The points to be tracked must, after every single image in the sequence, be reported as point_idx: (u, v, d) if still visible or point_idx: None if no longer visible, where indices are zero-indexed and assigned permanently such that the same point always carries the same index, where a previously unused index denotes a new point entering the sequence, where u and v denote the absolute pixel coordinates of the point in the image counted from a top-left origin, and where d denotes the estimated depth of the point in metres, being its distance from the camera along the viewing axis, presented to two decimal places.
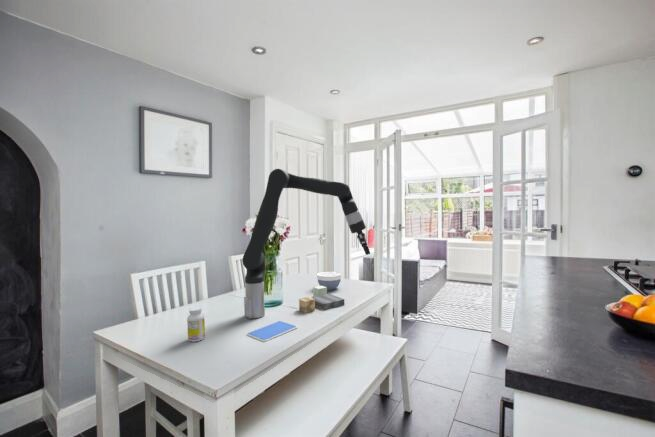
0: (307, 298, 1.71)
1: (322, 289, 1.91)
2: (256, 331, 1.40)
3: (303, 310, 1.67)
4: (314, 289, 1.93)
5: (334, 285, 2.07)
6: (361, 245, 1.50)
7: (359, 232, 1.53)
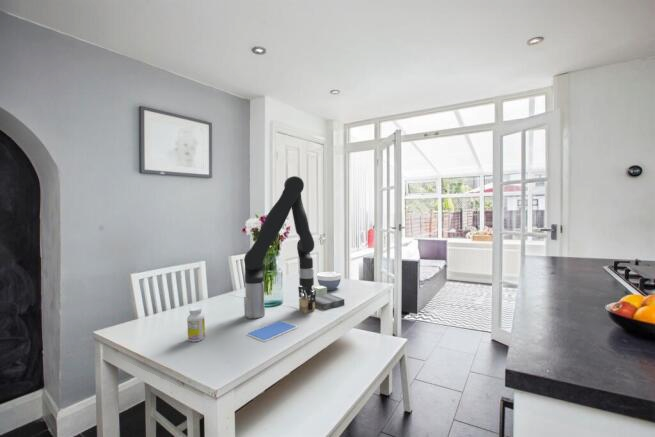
0: None
1: (322, 289, 1.91)
2: (256, 331, 1.40)
3: (303, 310, 1.67)
4: (314, 289, 1.93)
5: (334, 285, 2.07)
6: (310, 301, 1.64)
7: (310, 287, 1.66)
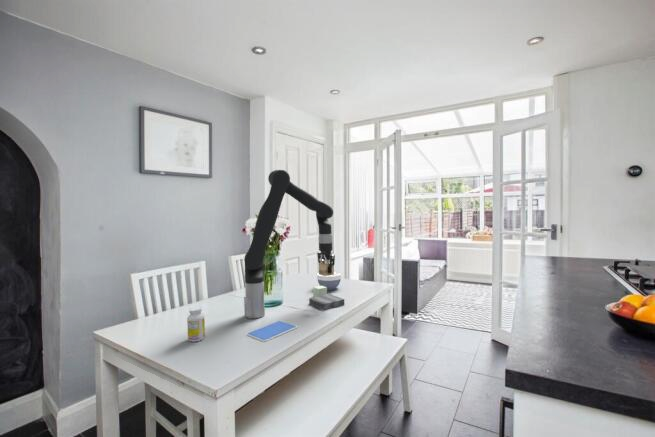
0: (326, 263, 1.79)
1: (322, 289, 1.91)
2: (256, 331, 1.40)
3: (323, 273, 1.75)
4: (314, 289, 1.93)
5: (334, 285, 2.07)
6: (330, 264, 1.72)
7: (329, 252, 1.75)
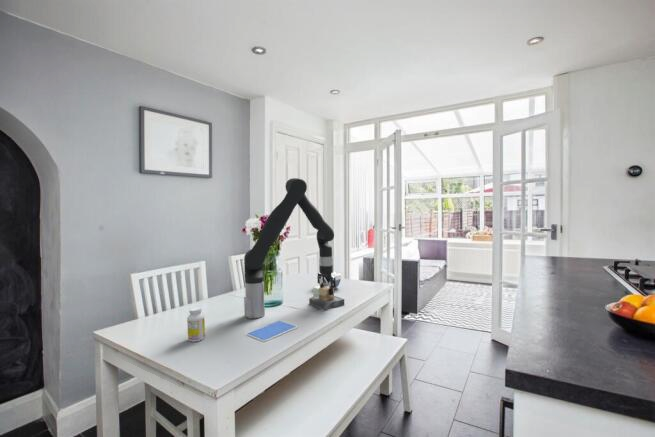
0: (326, 287, 1.80)
1: None
2: (256, 331, 1.40)
3: (323, 298, 1.76)
4: (314, 289, 1.93)
5: None
6: (331, 286, 1.73)
7: (330, 274, 1.75)
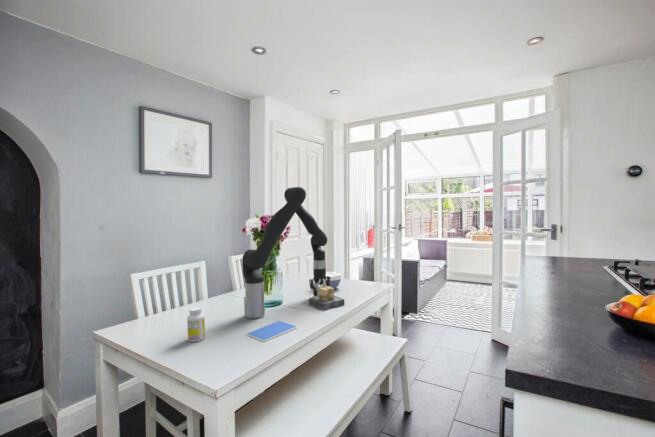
0: (326, 287, 1.80)
1: None
2: (256, 331, 1.40)
3: (323, 298, 1.76)
4: None
5: (334, 285, 2.07)
6: None
7: (314, 276, 1.91)
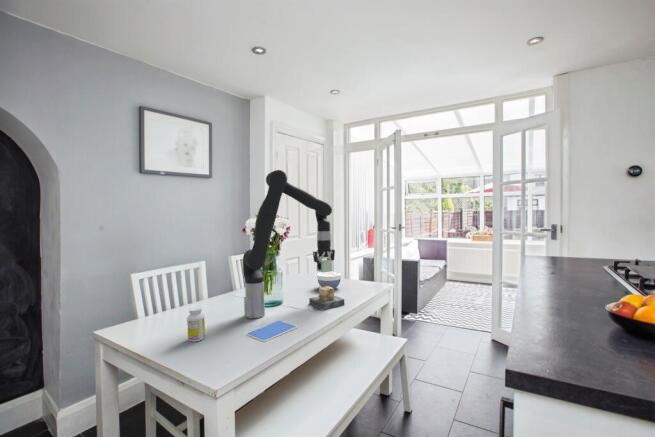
0: (326, 287, 1.80)
1: (327, 262, 1.78)
2: (256, 331, 1.40)
3: (323, 298, 1.76)
4: None
5: (334, 285, 2.07)
6: None
7: (318, 248, 1.78)
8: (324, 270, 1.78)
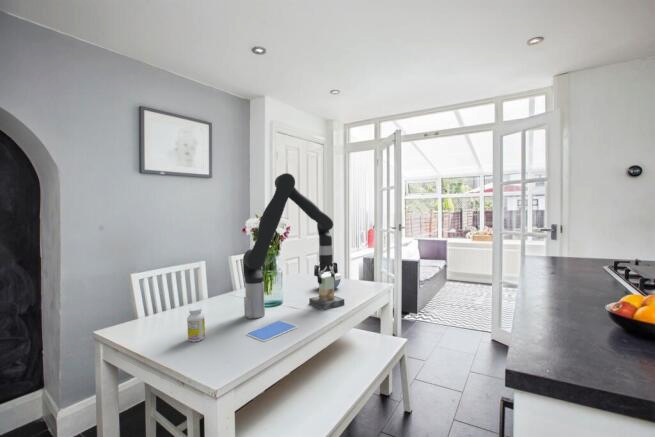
0: None
1: (329, 279, 1.76)
2: (256, 331, 1.40)
3: (323, 298, 1.76)
4: None
5: (334, 285, 2.07)
6: None
7: (320, 263, 1.76)
8: (326, 288, 1.75)
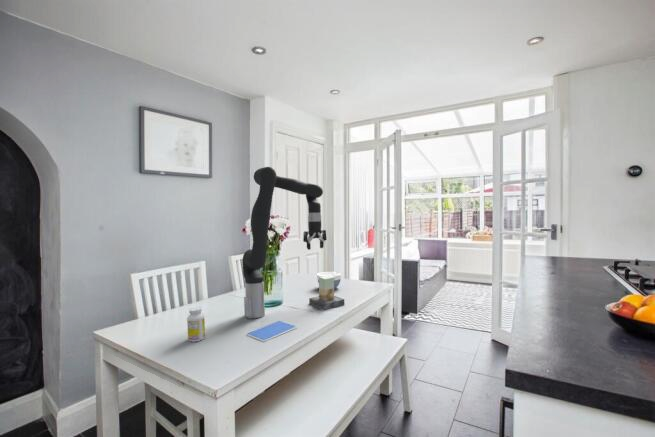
0: None
1: (329, 279, 1.76)
2: (256, 331, 1.40)
3: (323, 298, 1.76)
4: (320, 279, 1.78)
5: (334, 285, 2.07)
6: None
7: (309, 230, 1.82)
8: (326, 288, 1.75)
